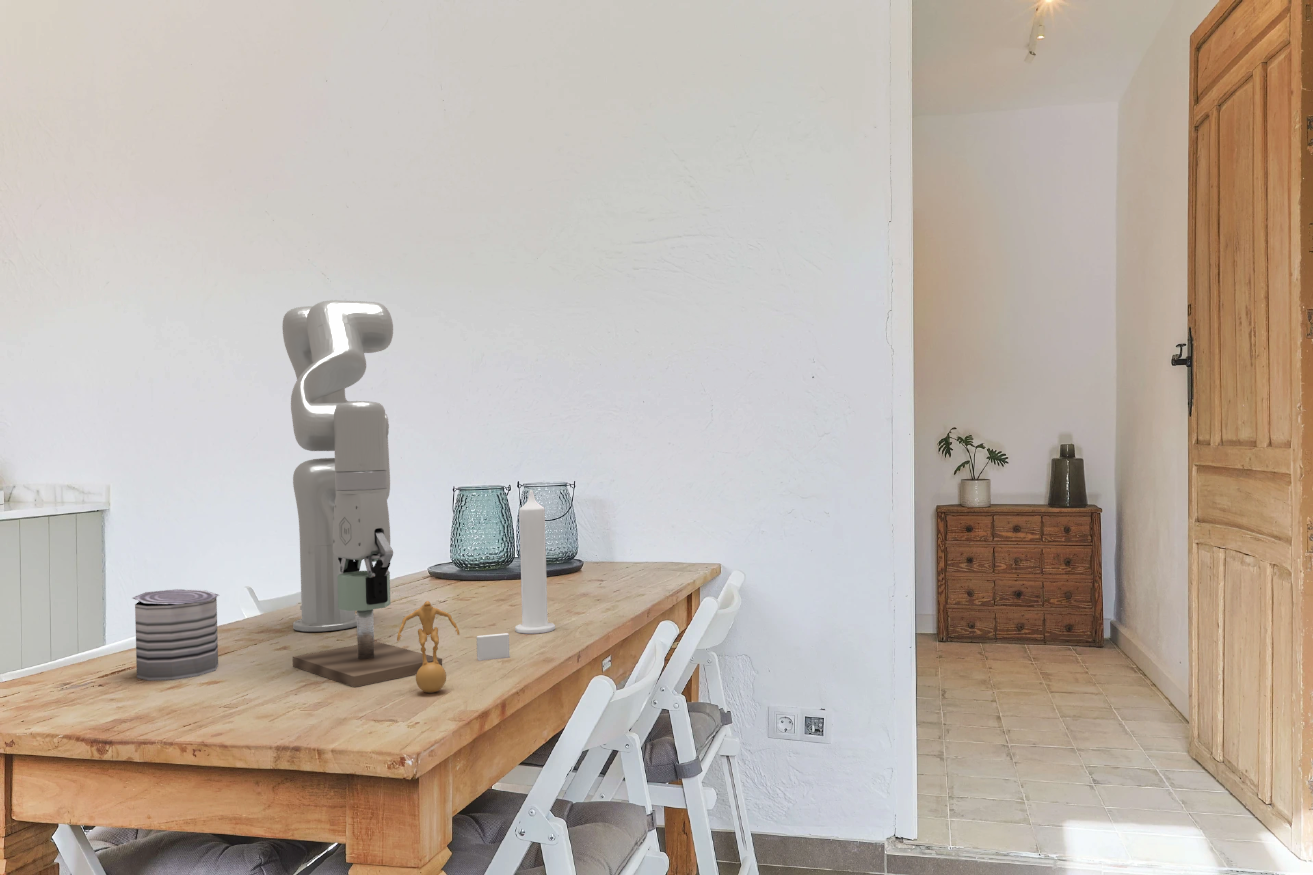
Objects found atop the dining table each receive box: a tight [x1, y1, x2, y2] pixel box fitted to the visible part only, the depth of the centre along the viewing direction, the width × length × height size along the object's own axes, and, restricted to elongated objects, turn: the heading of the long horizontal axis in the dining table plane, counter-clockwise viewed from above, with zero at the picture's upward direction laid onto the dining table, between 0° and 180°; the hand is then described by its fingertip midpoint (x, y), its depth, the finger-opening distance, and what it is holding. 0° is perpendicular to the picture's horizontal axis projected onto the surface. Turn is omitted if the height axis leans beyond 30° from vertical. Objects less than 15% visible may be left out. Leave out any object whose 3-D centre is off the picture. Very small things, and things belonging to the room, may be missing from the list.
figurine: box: [396, 600, 460, 694], centre depth 129 cm, size 8×6×12 cm
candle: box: [514, 489, 556, 635], centre depth 170 cm, size 7×7×25 cm
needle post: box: [356, 609, 375, 659], centre depth 144 cm, size 2×2×10 cm
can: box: [132, 588, 220, 682], centre depth 145 cm, size 11×11×12 cm
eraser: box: [476, 632, 511, 662], centre depth 148 cm, size 1×5×4 cm, turn 109°
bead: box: [337, 570, 391, 612], centre depth 144 cm, size 7×7×5 cm
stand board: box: [292, 641, 443, 688], centre depth 144 cm, size 20×14×2 cm
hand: (364, 599), depth 144 cm, fingers closed on bead, 7 cm apart
